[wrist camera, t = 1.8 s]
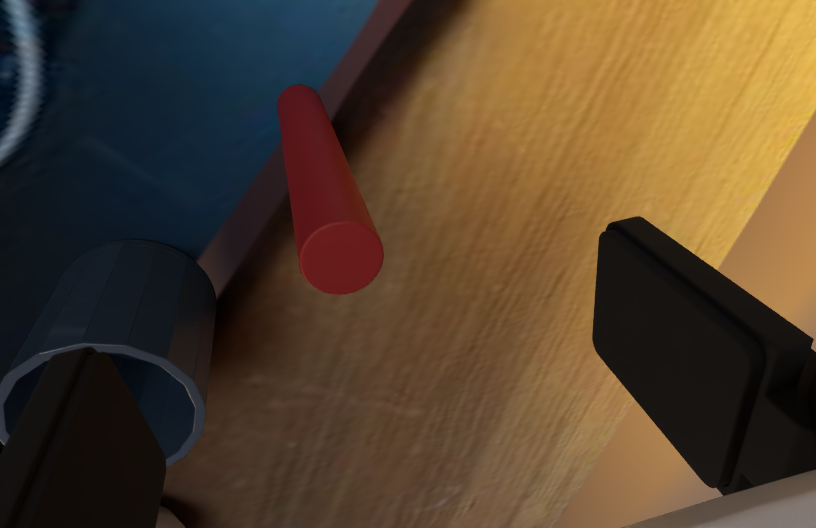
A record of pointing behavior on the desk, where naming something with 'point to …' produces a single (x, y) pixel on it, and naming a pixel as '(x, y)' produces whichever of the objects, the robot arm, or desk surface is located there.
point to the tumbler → (129, 335)
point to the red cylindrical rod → (325, 199)
